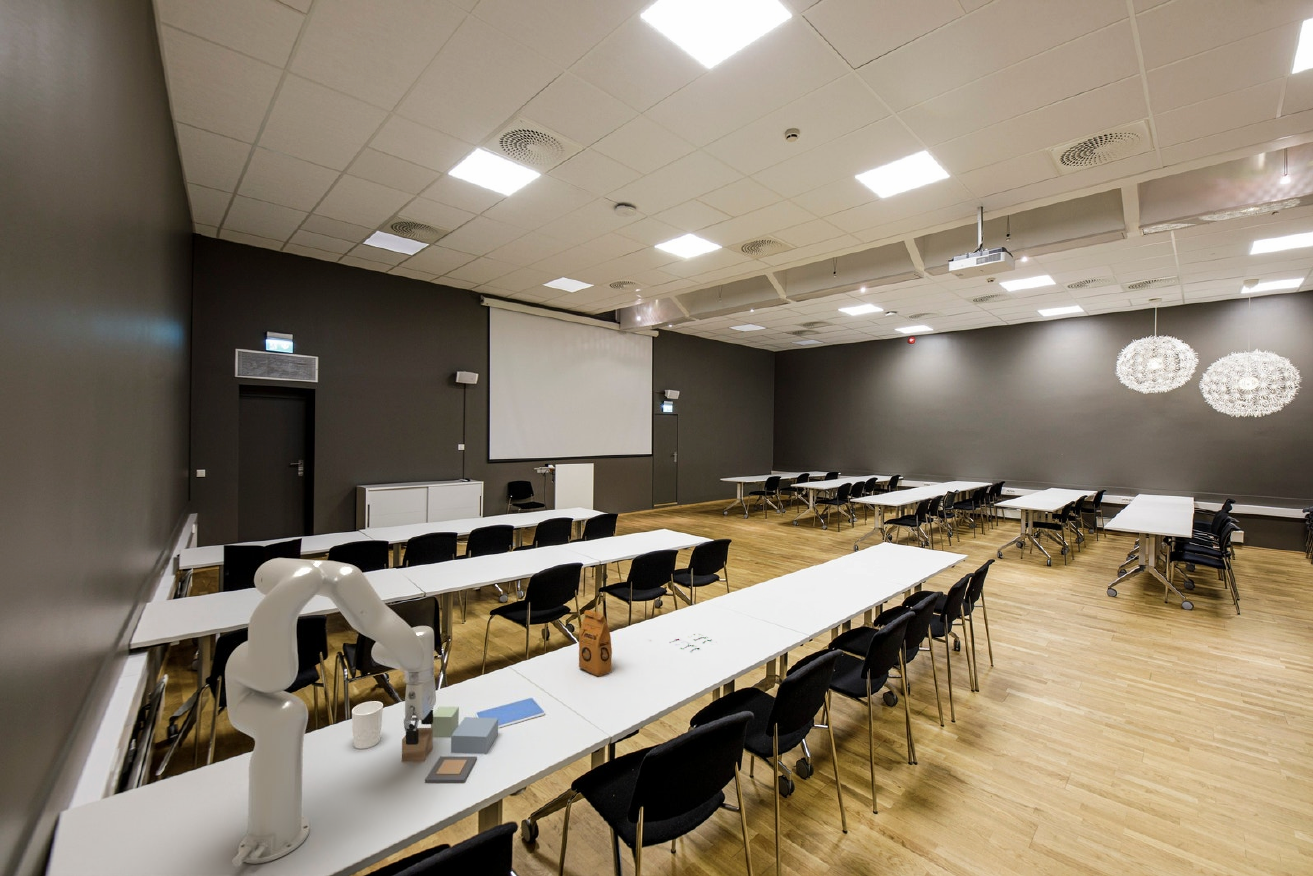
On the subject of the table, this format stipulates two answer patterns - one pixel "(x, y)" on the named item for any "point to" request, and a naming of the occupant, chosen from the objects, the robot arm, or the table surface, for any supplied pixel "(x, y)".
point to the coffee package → (595, 644)
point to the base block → (474, 735)
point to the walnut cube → (418, 747)
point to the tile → (451, 769)
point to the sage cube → (445, 721)
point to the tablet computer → (513, 712)
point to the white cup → (367, 724)
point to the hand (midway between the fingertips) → (420, 733)
